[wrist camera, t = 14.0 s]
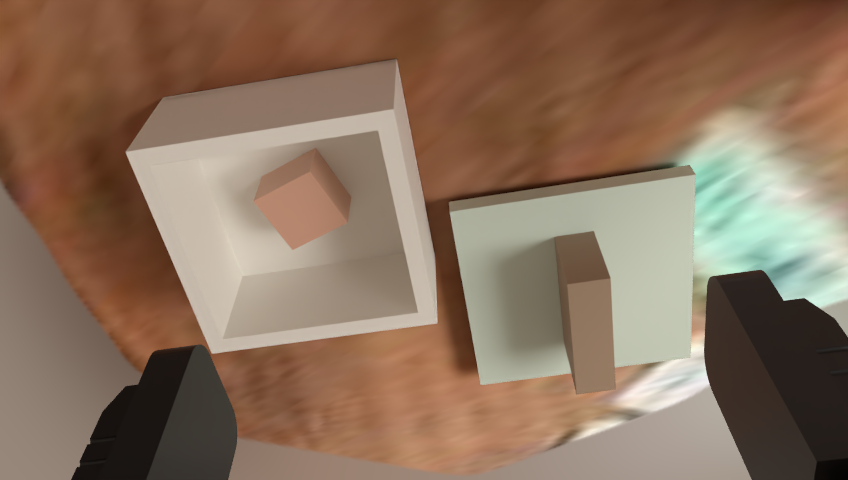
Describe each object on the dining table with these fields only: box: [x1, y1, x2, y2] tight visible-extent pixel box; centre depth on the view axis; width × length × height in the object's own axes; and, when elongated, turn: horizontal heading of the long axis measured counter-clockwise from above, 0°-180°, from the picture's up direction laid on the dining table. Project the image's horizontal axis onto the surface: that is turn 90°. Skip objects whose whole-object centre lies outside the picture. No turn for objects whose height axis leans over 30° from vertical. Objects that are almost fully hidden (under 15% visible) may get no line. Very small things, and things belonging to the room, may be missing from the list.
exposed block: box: [253, 148, 351, 250], centre depth 47 cm, size 4×4×3 cm
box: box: [126, 59, 438, 354], centre depth 45 cm, size 14×14×7 cm
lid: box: [449, 165, 696, 394], centre depth 50 cm, size 15×15×7 cm
